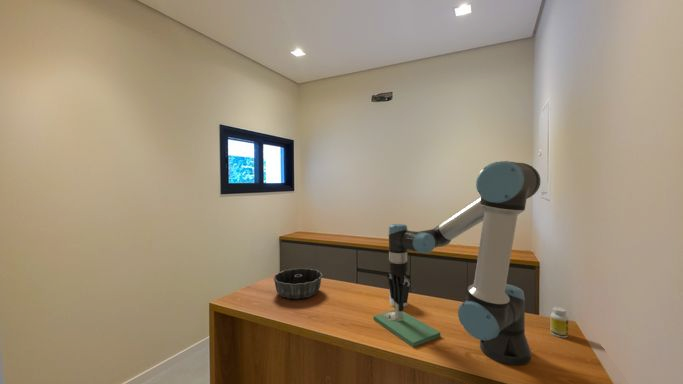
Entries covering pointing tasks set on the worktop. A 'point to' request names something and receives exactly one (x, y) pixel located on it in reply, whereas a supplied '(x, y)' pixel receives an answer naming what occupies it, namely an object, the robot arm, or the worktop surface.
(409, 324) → the mat
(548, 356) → the worktop surface
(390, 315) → the ball
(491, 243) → the robot arm
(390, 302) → the jar
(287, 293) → the bundt pan
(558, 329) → the supplement bottle
